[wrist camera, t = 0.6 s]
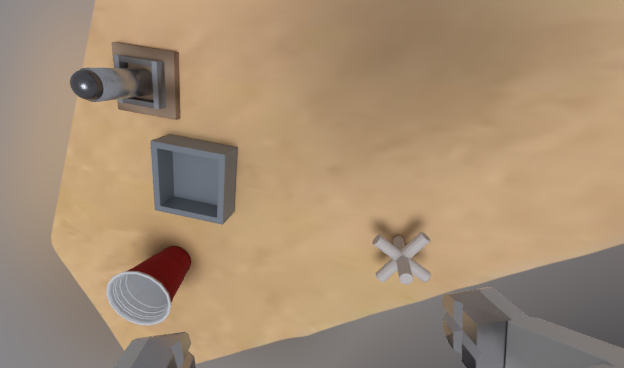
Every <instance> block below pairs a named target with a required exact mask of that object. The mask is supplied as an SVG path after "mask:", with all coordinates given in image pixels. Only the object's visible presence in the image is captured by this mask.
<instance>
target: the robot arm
mask: <svg viewBox="0 0 624 368" xmlns="http://www.w3.org/2000/svg"><path fill="white" fill-rule="evenodd" d="M443 307H444V308H445V309H446V311H447V312H446V314H445V315H444V317H443V329H444V333H445V337H446V339H447V341H448V343H449V344H450V346H451V347H452V349H453V350H455V351H456V352H458V353H460V354H462V362H463V364H464V365H465V366H466V368H624V349H623V348H620V347H617V346H615V345H612V344H609V343H606V342H603V341H600V340H598V339H595V338H592V337H589V336H587V335H584V334H581V333H578V332H576V331H573V330H570V329H567V328H564V327H562V326H558V325H556V324H553V323H550V322H548V321H545V320H542V319H539V318H536V317H531V318H529V317H528V316H527V315H526V314H525V313H523V312H522V311H521V310H520V309H518V308H517V307H516V306H515V305H514V304H512V303H511V302H510V301H508V300H507V299H506V298H505V297H504V296H502V295H501V294H500V293H499V292H497V291H496V290H495V289H494V288H491V287H484V288H479V289H474V290H470V291H464V292H457V293H451V294H445V295H444V296H443ZM190 345H191V341H190V337H189V334H188V333H186V332H182V333H173V334H165V335H157V336H153V337H152V336H150V337H143V338H136V339H135V340H133V341H132V342H131V343H130V344H129V346H128V347H127V349H126V350H125V352H124V353H123V355H122V356H121V358H120V359H119V360H118V362H117V363H116V365H115V366H114V367H113V368H196V367H195V359H194V356H193V355H192V354H191V353H190V352H189V351H188V350H189V347H190Z"/></svg>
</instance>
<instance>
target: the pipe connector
mask: <svg viewBox="0 0 624 368" xmlns="http://www.w3.org/2000/svg"><path fill="white" fill-rule="evenodd" d="M429 242H430V239H429V237H428V236H427V235H426V234H425V233H423V232H420V233H419V234H418V235H417V236H416V237H415V238H414V239H412V240H411V241H410V242H409V243H408V244H407V245H406V246H405V243H404V239H403V238H402V237H401V236H395V237H394V238H393V244H392V243H390V242H389V241H388V240H386V239H385V238H384V237H382V236H381V235H377V236H376V237H375V239H374V240H373V245H374V246H376V247H377V248H379V249H380V250H381V251H383V252H384V253H385V254H387V255H388V256H389V257H391V258H392V259H391V260H390V261H388V262H387V263H386V264H385V265H384V266H383V267H382V268H381V269H380V270H379V271H377V272H376V277H377V278H378V279H379V280H380V281H381V282H385V281H386V280H387V279H388V278H389V277H390V276H391V275H393V274H394V273H395V272H396V271H397V270H398V273H399V279H400V282H401V283H403V284H410V283H411V282H412V281H413V276H412V274H414V275H415V276H416V277H418V278H419V279H420V280H422V281H423V282H426V281H428V280H429V279H430V276H431V273H430V272H429V271H428V270H426V269H425V268H424V267H422V266H421V265H420V264H418V263H417V262H416V261H414V260H413V259H412V257H413V256H414V255H415V254H416V253H417V252H419V251H420V250H421V249H422V248H423V247H424V246H425V245H426V244H428V243H429Z"/></svg>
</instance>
